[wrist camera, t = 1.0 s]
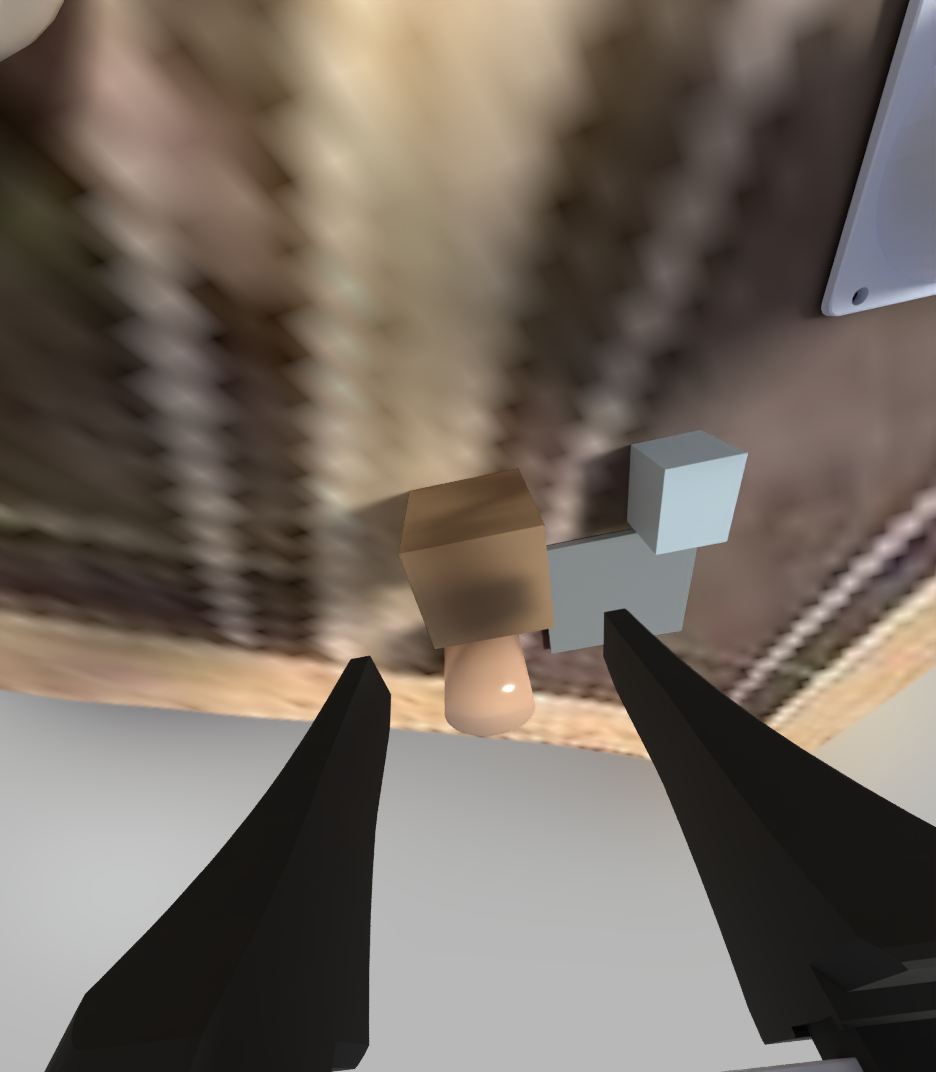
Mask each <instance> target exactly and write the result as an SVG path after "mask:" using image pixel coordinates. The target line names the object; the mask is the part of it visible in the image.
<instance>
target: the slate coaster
mask: <svg viewBox="0 0 936 1072" xmlns="http://www.w3.org/2000/svg"><path fill="white" fill-rule="evenodd" d="M696 551H697V547H695V548H690V549H684V550H679V551H674V552H669V553H664V554H658V555H655V553H654V552H653V551H652V550H651V549H650V548H649V546H648V545H647V544H646V543H645V542H644V541H643V539H642V538H641V537H640V536H639V535H638V534H637V532H636V531H635V530H634V529H630V530H625V531H620V532H615V533H609V534H604V535H599V536H594V537H589V538H584V539H579V540H574V541H569V542H563V543H558V544H553V545H548V546H547V556H548V567H549V577H550V588H551V598H552V609H553V619H554V628H549V629H548V636H549V645H550V650H551V653H558V652H563V651H569V650H575V649H580V648H586V647H591V646H597V645H603V644H604V612H607V611H613V610H618V609H624V608H625V609H627V610H628V611H629V612H630V613H631V614H632V615H633V616H634V617H635V618H636V619H637V620H638V621H639V622H640V623H642V624H643V625H644V626H645V627H646V628H647V629H648V630H649V631H650V632H651V633H652V634H653V635H659V634H665V633H670V632H676V631H681V630H682V625H683V620H684V615H685V609H686V604H687V599H688V593H689V588H690V583H691V577H692V572H693V567H694V562H695V556H696Z"/></svg>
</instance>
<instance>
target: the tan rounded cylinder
mask: <svg viewBox="0 0 936 1072" xmlns="http://www.w3.org/2000/svg"><path fill="white" fill-rule="evenodd" d="M444 650H445V717H446V720H447V722H448V723H449V724H450V725H451V726H452V727H453V728H455V729H456V730H458V731H460V732H463V733H466V734H470V735H476V736H492V735H499V734H503V733H507V732H510V731H513V730H515V729H517V728H519V727H520V726H522V725H523V724H525V723H526V722H527V721H528V720H529V719H530V718H531V717H532V715H533V713H534V710H535V702H534V698H533V694H532V689H531V685H530V681H529V676H528V672H527V668H526V663H525V659H524V655H523V650H522V646H521V642H520V637H519V634H516V635H511V636H505V637H500V638H494V639H489V640H483V641H478V642H472V643H467V644H461V645H456V646H450V647H445V648H444Z"/></svg>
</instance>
